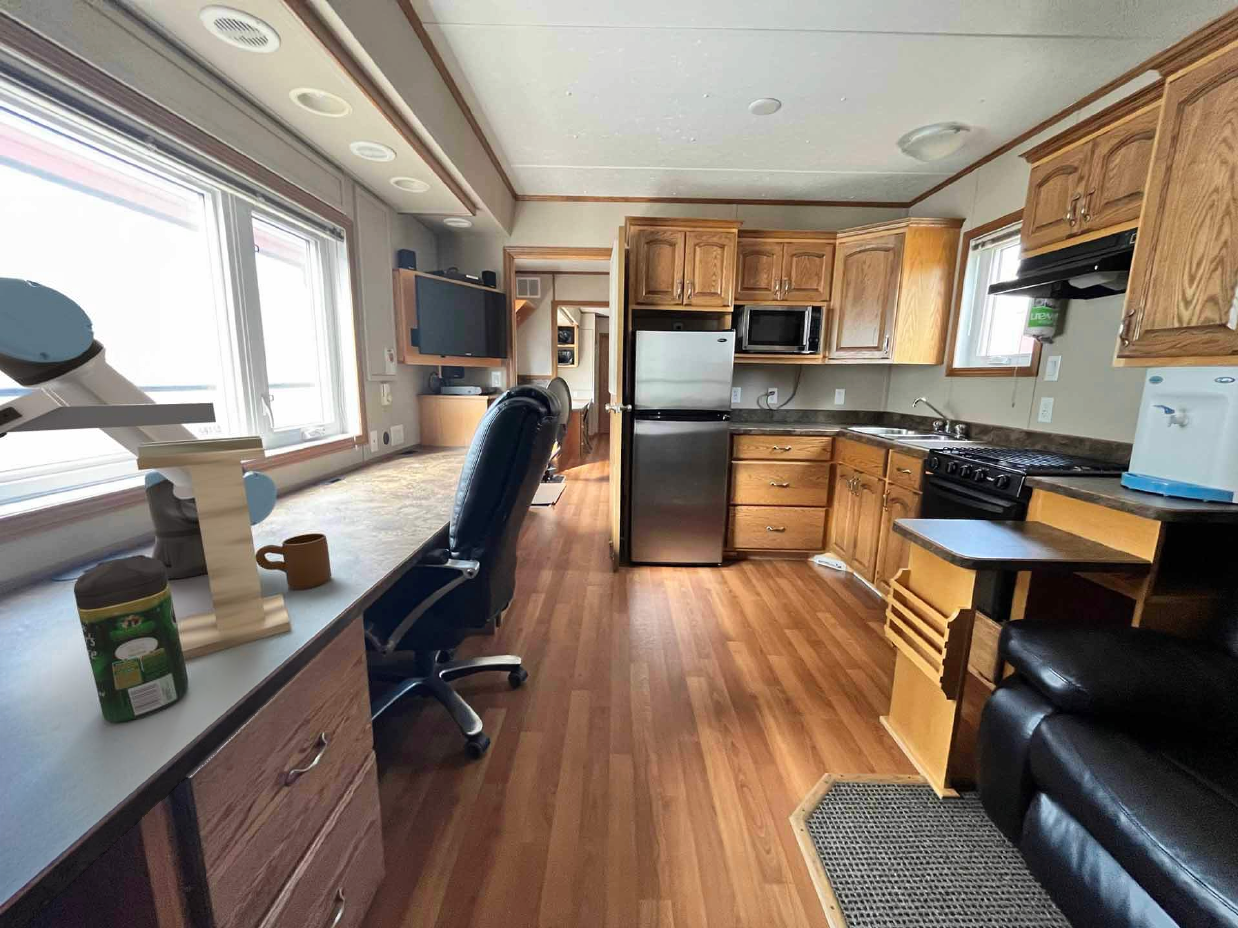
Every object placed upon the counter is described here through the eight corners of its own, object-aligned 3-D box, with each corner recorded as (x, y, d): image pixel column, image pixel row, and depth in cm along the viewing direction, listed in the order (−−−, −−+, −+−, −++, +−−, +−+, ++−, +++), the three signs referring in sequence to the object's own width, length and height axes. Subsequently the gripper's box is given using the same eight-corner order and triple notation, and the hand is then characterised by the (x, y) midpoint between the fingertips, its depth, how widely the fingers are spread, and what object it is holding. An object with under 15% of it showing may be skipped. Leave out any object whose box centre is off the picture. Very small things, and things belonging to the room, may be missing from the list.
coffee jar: (104, 697, 60) (74, 561, 57) (187, 671, 66) (163, 545, 63) (98, 736, 54) (63, 584, 50) (191, 702, 59) (165, 564, 56)
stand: (181, 626, 78) (146, 441, 73) (282, 601, 87) (258, 433, 82) (174, 663, 68) (133, 449, 63) (290, 629, 77) (263, 440, 71)
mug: (257, 599, 88) (250, 552, 87) (263, 585, 95) (256, 540, 93) (331, 585, 94) (325, 540, 93) (332, 572, 101) (327, 530, 99)
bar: (-35, 433, 58) (-41, 409, 58) (216, 421, 74) (212, 402, 73) (-46, 434, 56) (-52, 410, 56) (215, 422, 71) (212, 402, 71)
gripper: (-127, 521, 59) (93, 418, 70) (-217, 554, 46) (66, 423, 57) (-199, 474, 55) (45, 374, 66) (-316, 497, 43) (5, 369, 54)
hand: (54, 397), depth 62 cm, fingers closed on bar, 3 cm apart
